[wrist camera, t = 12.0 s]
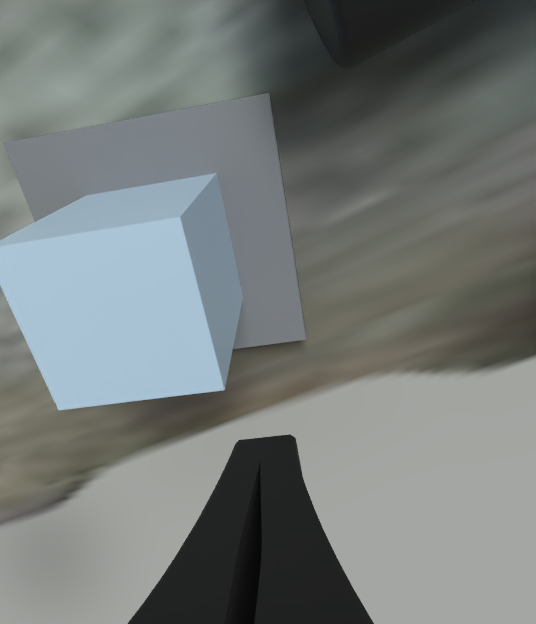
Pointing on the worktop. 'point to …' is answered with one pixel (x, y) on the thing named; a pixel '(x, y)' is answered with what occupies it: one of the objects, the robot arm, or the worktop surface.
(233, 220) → the board
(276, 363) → the worktop surface
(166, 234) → the pale blue cube
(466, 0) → the end cap
